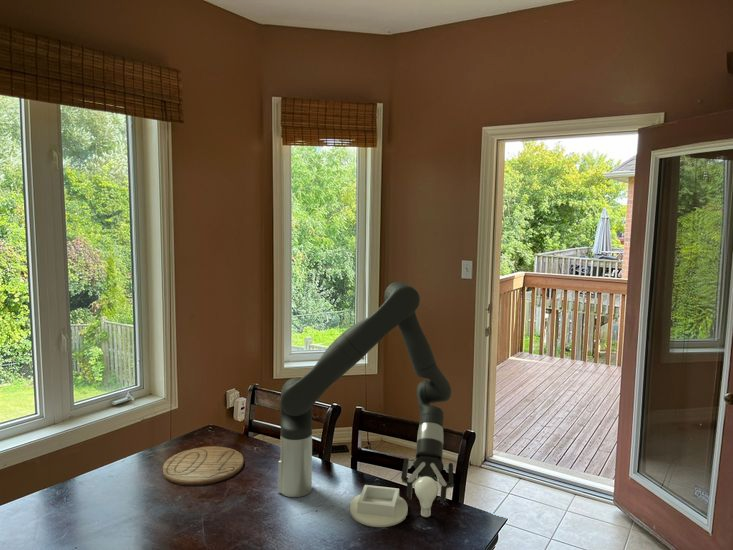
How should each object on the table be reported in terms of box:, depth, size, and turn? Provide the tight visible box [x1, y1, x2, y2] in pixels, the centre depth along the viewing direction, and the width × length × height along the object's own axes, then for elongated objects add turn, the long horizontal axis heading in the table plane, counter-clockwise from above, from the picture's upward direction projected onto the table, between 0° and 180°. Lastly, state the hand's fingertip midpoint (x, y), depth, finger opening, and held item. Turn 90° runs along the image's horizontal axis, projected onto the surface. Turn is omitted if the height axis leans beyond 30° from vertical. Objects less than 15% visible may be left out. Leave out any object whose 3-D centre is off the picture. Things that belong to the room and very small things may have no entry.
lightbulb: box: [414, 476, 439, 518], centre depth 142 cm, size 6×6×11 cm
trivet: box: [162, 446, 244, 486], centre depth 170 cm, size 25×25×2 cm
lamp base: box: [349, 484, 409, 528], centre depth 145 cm, size 16×16×4 cm
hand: (425, 500), depth 141 cm, fingers open, 8 cm apart
